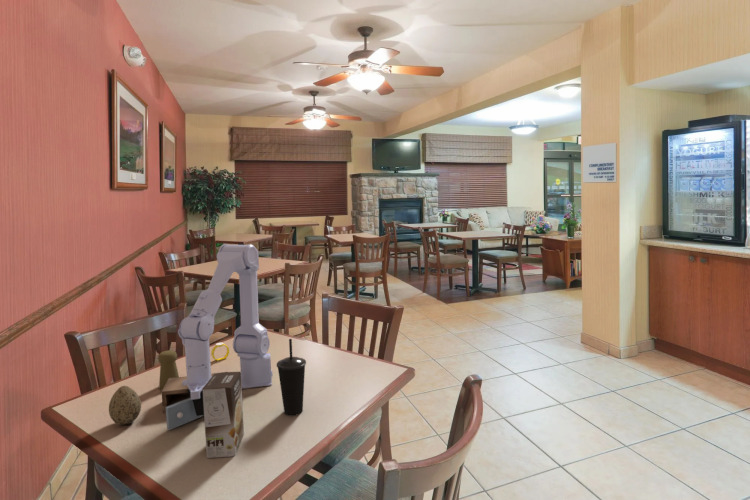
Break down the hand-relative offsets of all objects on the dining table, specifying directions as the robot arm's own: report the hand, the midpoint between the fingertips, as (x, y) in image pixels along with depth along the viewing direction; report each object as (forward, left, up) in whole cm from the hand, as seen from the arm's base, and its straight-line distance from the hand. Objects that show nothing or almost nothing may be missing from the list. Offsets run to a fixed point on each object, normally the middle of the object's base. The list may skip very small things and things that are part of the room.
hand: (201, 414), depth 109 cm
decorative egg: (+19, -5, -2) cm, 20 cm away
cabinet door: (0, -2, -2) cm, 3 cm away
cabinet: (+3, -12, -2) cm, 13 cm away
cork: (+13, -26, -2) cm, 29 cm away
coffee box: (-7, +13, -2) cm, 15 cm away
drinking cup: (-23, +1, -2) cm, 23 cm away
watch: (0, -45, -2) cm, 45 cm away
